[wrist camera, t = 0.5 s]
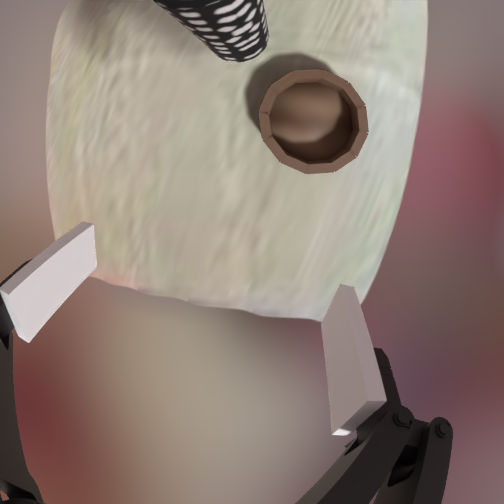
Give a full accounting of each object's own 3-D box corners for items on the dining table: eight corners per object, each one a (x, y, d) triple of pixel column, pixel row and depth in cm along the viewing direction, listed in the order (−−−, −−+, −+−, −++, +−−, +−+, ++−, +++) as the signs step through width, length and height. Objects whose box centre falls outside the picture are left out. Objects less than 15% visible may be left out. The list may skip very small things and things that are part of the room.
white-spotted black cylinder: (203, 59, 30) (135, 13, 13) (216, 12, 27) (163, -57, 9) (262, 66, 30) (241, 11, 13) (274, 17, 27) (264, -61, 9)
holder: (255, 80, 31) (252, 74, 28) (352, 74, 29) (360, 69, 25) (269, 171, 37) (267, 177, 33) (361, 165, 35) (370, 170, 31)
